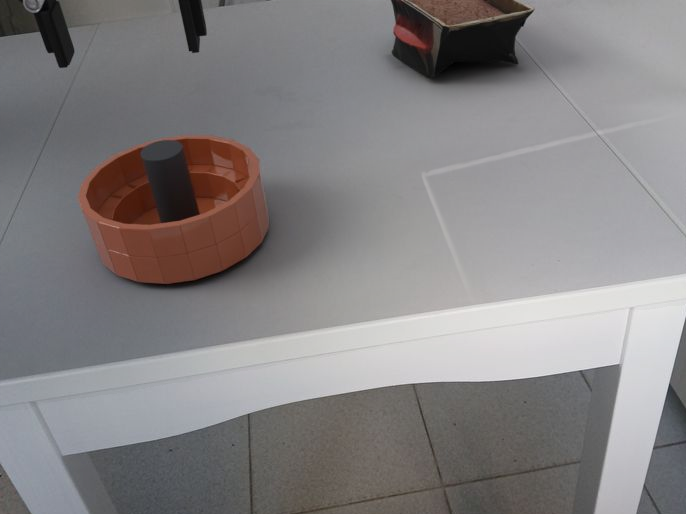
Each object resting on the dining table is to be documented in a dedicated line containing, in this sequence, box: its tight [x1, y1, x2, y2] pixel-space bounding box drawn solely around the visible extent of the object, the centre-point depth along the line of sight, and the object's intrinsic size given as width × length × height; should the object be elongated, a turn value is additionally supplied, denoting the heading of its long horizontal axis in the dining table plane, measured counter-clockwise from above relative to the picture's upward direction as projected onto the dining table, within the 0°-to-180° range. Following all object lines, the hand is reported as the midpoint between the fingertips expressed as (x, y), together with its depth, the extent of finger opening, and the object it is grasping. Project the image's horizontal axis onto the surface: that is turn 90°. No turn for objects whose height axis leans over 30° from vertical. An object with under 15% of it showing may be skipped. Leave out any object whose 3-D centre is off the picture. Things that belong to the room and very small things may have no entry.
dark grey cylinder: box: [141, 140, 200, 223], centre depth 63 cm, size 4×4×8 cm
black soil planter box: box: [390, 0, 535, 80], centre depth 87 cm, size 14×18×10 cm
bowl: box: [77, 134, 270, 285], centre depth 64 cm, size 15×15×6 cm
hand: (131, 53), depth 55 cm, fingers open, 9 cm apart
